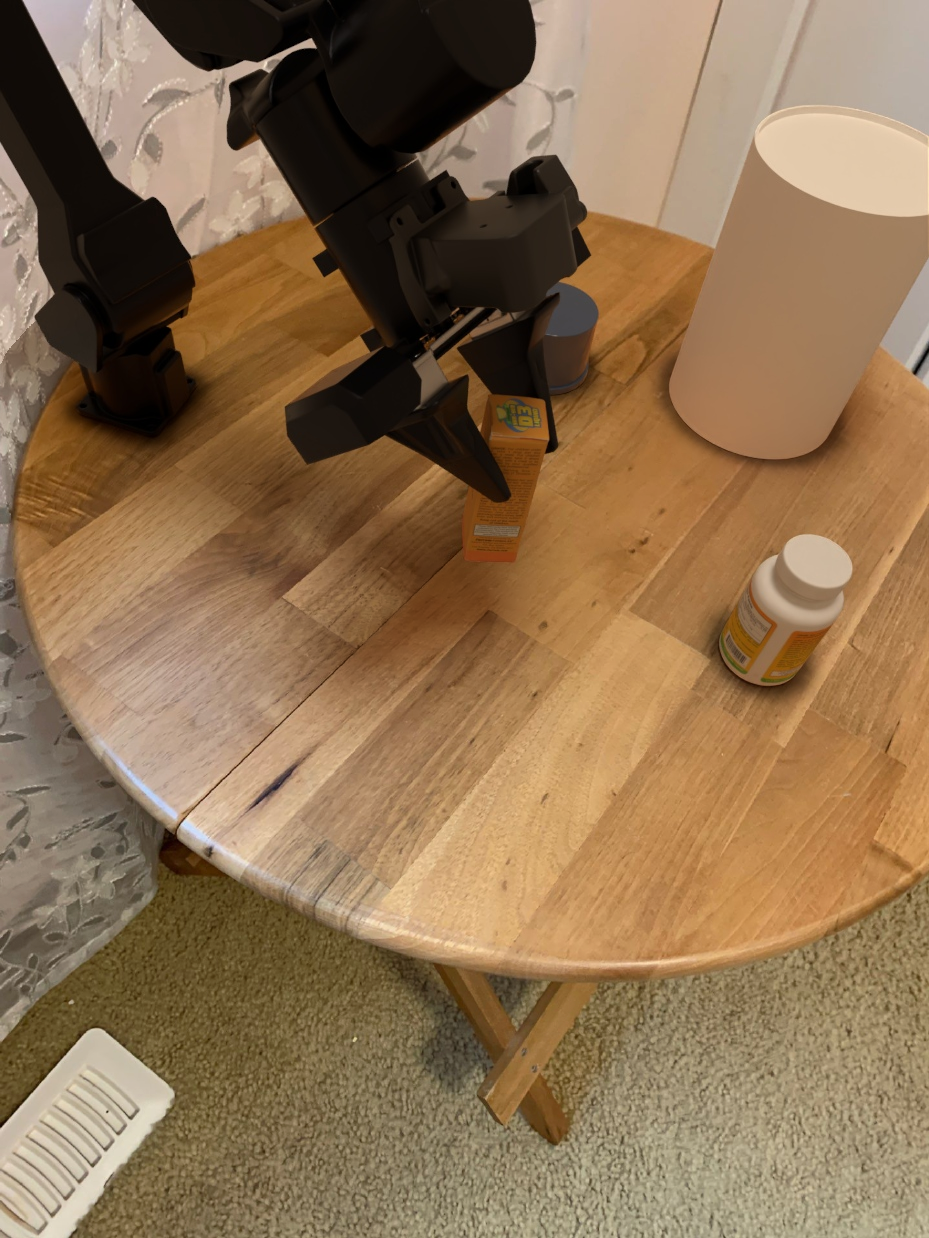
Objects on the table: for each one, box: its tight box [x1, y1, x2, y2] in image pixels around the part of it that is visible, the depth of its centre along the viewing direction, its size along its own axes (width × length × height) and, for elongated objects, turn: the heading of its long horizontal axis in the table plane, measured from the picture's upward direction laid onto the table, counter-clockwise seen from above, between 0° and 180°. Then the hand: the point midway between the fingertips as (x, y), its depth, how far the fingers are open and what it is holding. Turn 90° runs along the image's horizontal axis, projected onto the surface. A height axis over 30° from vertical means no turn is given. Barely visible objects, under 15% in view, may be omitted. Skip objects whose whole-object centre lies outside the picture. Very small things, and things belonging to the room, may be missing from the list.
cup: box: [544, 281, 600, 396], centre depth 71 cm, size 8×7×6 cm
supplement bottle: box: [718, 533, 853, 687], centre depth 54 cm, size 5×5×10 cm
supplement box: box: [461, 393, 549, 564], centre depth 49 cm, size 3×3×10 cm
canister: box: [668, 104, 929, 460], centre depth 65 cm, size 14×14×20 cm
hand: (527, 475), depth 47 cm, fingers closed on supplement box, 4 cm apart
